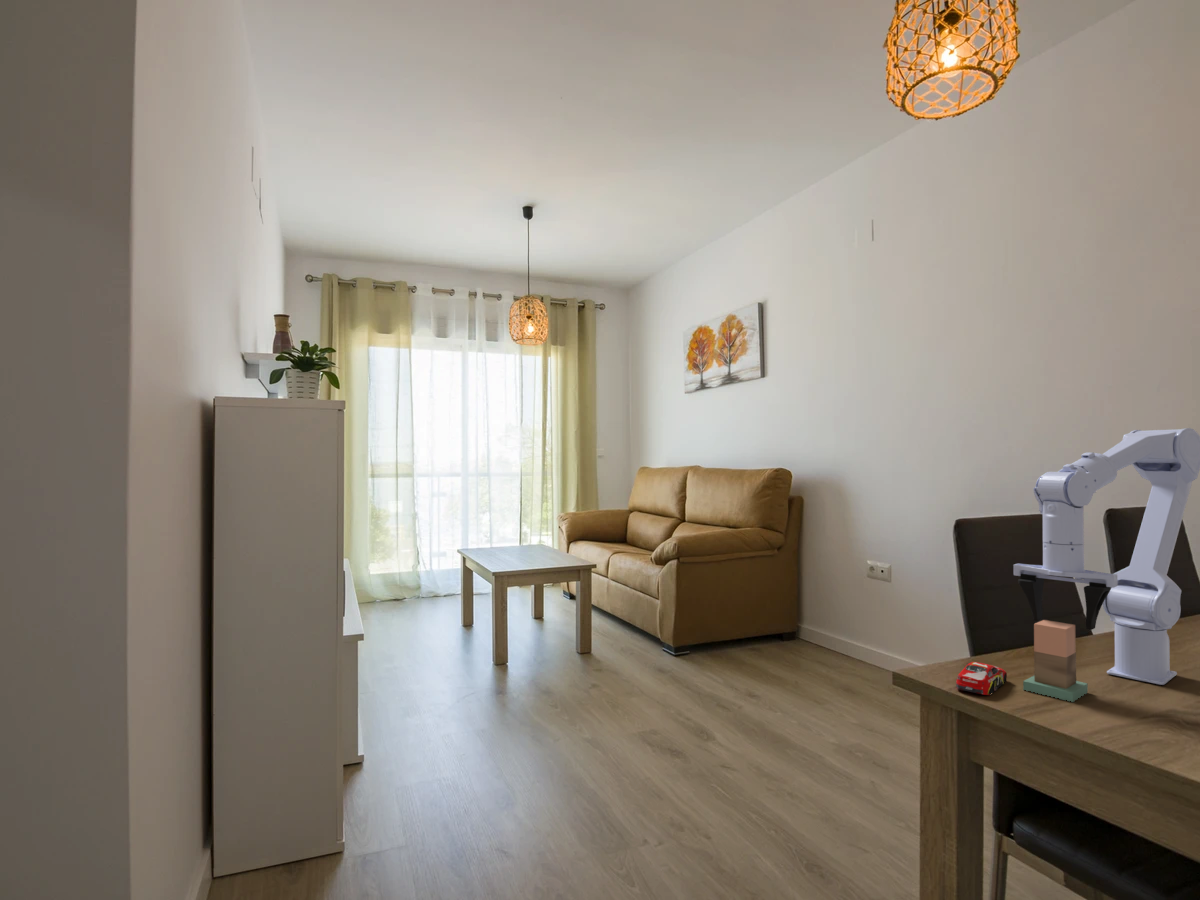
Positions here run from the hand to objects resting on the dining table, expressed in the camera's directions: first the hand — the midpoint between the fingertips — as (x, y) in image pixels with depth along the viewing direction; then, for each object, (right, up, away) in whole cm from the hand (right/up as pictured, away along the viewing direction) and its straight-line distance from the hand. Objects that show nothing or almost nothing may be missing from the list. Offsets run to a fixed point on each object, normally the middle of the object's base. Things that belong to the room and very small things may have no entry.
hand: (1063, 624), depth 114 cm
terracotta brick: (-3, -4, -3) cm, 6 cm away
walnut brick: (-3, -9, -3) cm, 10 cm away
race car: (-14, -11, 0) cm, 17 cm away
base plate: (-3, -10, -3) cm, 11 cm away
